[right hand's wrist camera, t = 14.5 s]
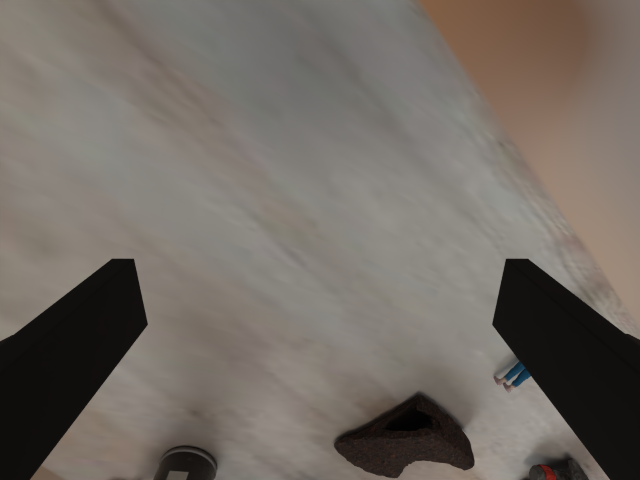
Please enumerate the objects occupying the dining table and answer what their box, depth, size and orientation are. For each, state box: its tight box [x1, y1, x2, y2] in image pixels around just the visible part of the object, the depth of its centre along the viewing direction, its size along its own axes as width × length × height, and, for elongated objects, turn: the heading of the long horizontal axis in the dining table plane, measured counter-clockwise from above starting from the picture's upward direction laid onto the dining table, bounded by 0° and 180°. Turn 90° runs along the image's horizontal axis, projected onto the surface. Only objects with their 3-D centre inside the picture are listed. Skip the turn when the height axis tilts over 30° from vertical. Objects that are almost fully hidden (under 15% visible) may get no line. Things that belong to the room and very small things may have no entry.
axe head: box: [334, 395, 474, 478], centre depth 56 cm, size 18×8×15 cm
